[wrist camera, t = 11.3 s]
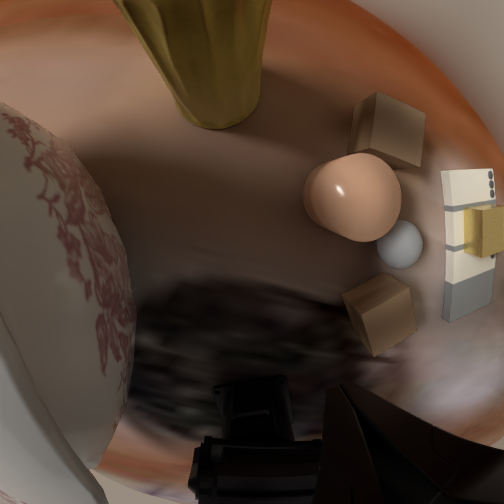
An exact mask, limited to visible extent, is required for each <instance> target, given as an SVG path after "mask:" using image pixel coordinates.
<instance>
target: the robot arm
mask: <svg viewBox="0 0 504 504" xmlns="http://www.w3.org/2000/svg"><path fill="white" fill-rule="evenodd" d="M280 380H283V381H282V382H279V381H280ZM216 390H219V392H217V391H216ZM212 394H213V397H214V400H215V403H216V405H217V408H218V411H219V413H220V416H221V418H222V421H223V425H222V439H220V438H212V436H205V439H204V443H201V446H200V447H198V448H195V449H194V457H193V464H192V468H191V472H190V476H189V480H188V488H189V489H190V490H191V491H192V492H193V493H194V494H195V495H196V497H195V499H196V500H199V501H198V504H504V450H501V449H497V448H493V447H490V446H486V445H483V444H479V443H476V442H473V441H470V440H467V439H464V438H461V437H458V436H456V435H453V434H451V433H449V432H447V431H444V430H442V429H440V428H438V427H436V426H433V425H432V424H430V423H428V422H426V421H424V420H422V419H420V418H418V417H416V416H414V415H413V414H411V413H409V412H407V411H405V410H403V409H401V408H399V407H398V406H396V405H394V404H392V403H390V402H388V401H387V400H385V399H383V398H381V397H379V396H378V395H376V394H374V393H372V392H371V391H369V390H367V389H365V388H364V387H362V386H360V385H358V384H357V383H355V382H353V381H349V382H345V383H342V384H340V385H335V386H331V387H327V388H326V398H325V412H324V424H323V434H322V440H321V439H313V440H312V441H295V439H294V435H293V430H292V426H291V425H292V424H293V422H294V421H293V414H292V407H291V401H290V395H289V388H288V382H287V378H286V376H284V375H279V376H273V377H268V378H263V379H257V380H251V381H245V382H238V383H231V384H224V385H216V386H214V387H213V388H212Z"/></svg>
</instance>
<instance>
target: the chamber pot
mask: <svg viewBox="0 0 504 504" xmlns="http://www.w3.org/2000/svg"><path fill="white" fill-rule="evenodd" d="M136 320H137V310H136V306H135V301H134V296H133V291H132V286H131V280H130V274H129V269H128V262H127V256H126V250H125V248H124V246H123V243H122V241H121V239H120V236H119V234H118V232H117V229H116V227H115V224H114V222H113V219H112V217H111V214H110V212H109V209H108V207H107V204H106V201H105V199H104V196H103V193H102V191H101V189H100V187H99V186H98V185H97V183H96V182H95V181H94V179H93V178H92V177H91V175H90V174H89V173H88V171H87V170H86V169H85V167H84V166H83V164H82V163H81V162H80V160H79V159H78V157H77V156H76V155H75V153H74V152H73V150H72V149H71V147H70V146H69V145H68V144H66V143H65V142H63V141H62V140H60V139H59V138H58V137H56V136H55V135H53V134H52V133H50V132H49V131H48V130H46V129H45V128H43V127H42V126H41V125H39V124H38V123H36V122H34V121H33V120H31V119H30V118H28V117H26V116H25V115H23V114H21V113H20V112H18V111H16V110H15V109H13V108H12V107H10V106H8V105H7V104H5V103H3V102H0V504H109V503H108V501H107V498H106V496H105V493H104V490H103V488H102V487H101V486H100V484H99V483H98V482H97V480H96V479H95V477H94V476H93V474H92V473H91V472H90V471H89V469H91V468H93V467H95V466H97V465H99V463H100V461H101V459H102V457H103V455H104V453H105V451H106V449H107V447H108V445H109V443H110V441H111V439H112V437H113V435H114V432H115V430H116V428H117V425H118V423H119V421H120V419H121V416H122V414H123V412H124V410H125V407H126V405H127V399H128V392H129V386H130V380H131V374H132V368H133V363H134V346H135V331H136Z"/></svg>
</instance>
